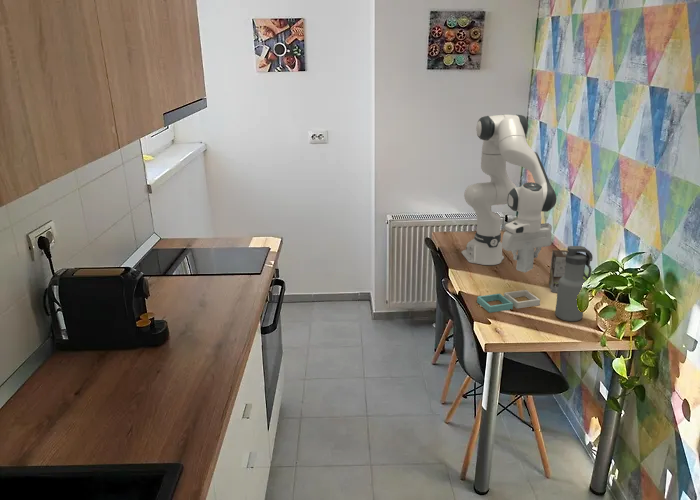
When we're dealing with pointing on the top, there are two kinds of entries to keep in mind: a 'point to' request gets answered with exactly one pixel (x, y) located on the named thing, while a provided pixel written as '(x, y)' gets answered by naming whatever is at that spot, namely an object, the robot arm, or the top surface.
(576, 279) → the water bottle
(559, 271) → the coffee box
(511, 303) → the shallow square trays
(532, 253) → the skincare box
